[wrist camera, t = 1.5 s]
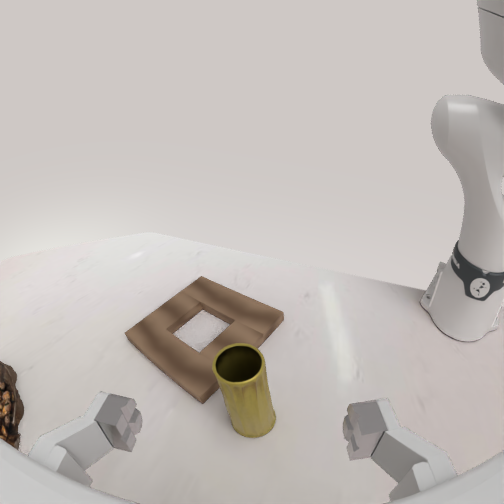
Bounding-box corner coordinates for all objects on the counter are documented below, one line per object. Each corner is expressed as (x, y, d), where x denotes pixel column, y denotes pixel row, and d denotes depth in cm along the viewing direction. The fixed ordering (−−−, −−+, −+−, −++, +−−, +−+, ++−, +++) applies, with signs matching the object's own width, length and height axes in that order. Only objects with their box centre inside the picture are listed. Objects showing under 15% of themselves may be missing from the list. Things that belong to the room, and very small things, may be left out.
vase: (251, 393, 37) (235, 331, 29) (285, 414, 33) (282, 356, 26) (222, 421, 33) (195, 366, 26) (256, 446, 30) (240, 399, 22)
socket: (203, 283, 61) (201, 276, 60) (283, 319, 49) (283, 312, 48) (128, 340, 48) (124, 333, 47) (202, 403, 36) (199, 397, 35)
